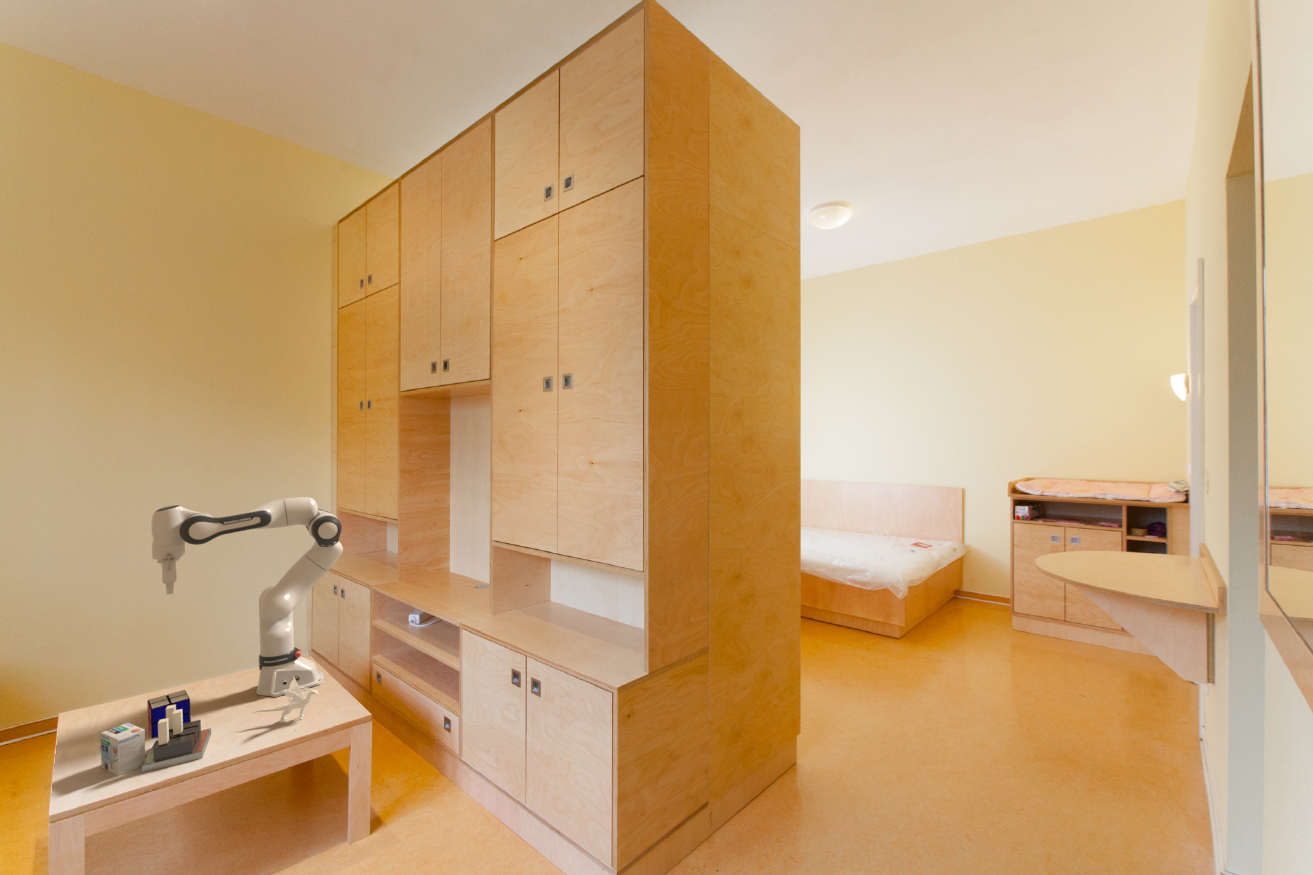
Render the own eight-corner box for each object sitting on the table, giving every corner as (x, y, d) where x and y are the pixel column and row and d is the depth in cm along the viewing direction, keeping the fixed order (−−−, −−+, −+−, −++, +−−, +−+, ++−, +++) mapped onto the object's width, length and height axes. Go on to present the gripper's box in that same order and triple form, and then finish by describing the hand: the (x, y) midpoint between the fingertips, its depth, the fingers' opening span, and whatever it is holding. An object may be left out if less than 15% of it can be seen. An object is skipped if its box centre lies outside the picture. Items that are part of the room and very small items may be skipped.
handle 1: (169, 739, 173) (168, 717, 172) (167, 743, 171) (166, 721, 170) (160, 741, 172) (159, 719, 171) (158, 745, 170) (157, 723, 169)
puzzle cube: (151, 739, 185) (150, 709, 185) (147, 728, 191) (147, 699, 191) (191, 727, 192) (190, 698, 192) (186, 717, 199) (185, 689, 199)
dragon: (316, 722, 194) (315, 685, 193) (246, 734, 186) (245, 696, 186) (322, 707, 204) (321, 672, 204) (256, 718, 197) (255, 681, 197)
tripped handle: (183, 729, 178) (182, 708, 178) (181, 733, 176) (180, 711, 176) (174, 731, 177) (174, 710, 177) (173, 735, 175) (172, 713, 175)
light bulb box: (100, 767, 169) (99, 732, 169) (128, 755, 175) (127, 721, 175) (118, 776, 165) (117, 740, 164) (146, 764, 171) (145, 728, 171)
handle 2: (176, 724, 181) (175, 704, 181) (174, 728, 179) (174, 707, 179) (168, 726, 180) (167, 705, 180) (166, 730, 178) (165, 709, 178)
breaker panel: (211, 733, 187) (210, 716, 187) (202, 757, 173) (201, 738, 173) (155, 746, 180) (155, 728, 180) (142, 772, 166) (141, 752, 166)
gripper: (180, 555, 194) (182, 595, 194) (180, 546, 209) (181, 583, 209) (156, 558, 190) (157, 599, 190) (157, 548, 205) (158, 586, 205)
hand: (170, 590), depth 200 cm, fingers open, 8 cm apart
